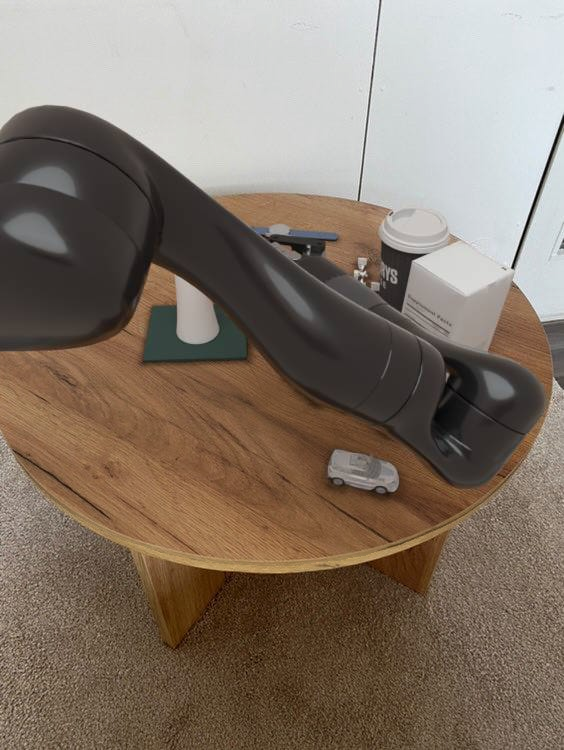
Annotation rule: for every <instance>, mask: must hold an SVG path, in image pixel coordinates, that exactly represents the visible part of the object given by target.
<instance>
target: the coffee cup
mask: <svg viewBox="0 0 564 750" xmlns="http://www.w3.org/2000/svg"><path fill="white" fill-rule="evenodd" d="M377 233H378V236H379V238H380V241H381V243H380V264H379V265H380V267H379V269H380V270H379V283H380V287H379V291H378V295H379V296H380V297H381V298H382V299H383V300H384V301H385V302H387V303H388V304H389V305H390V306H392V307H393V308H395V309H396V310H398V311H399V312H401V313H402V308H403V303H404V298H405V293H406V289H407V284H408V279H409V274H410V269H411V264H412V261H413V260H416V259H418V258H420V257H423V256H425V255H427V254H430V253H432V252H434V251H437V250H439V249H441V248H444V247H446V246H448V245H450V242H451V231H450V227H449V225H448V221H447V218H446V217H445V216H444V215H443V214H442V213H441V212H440V211H437V210H435V209H432V208H430V207H426V206H420V205H403V206H398V207H395V208H393V209H392V210H390V211H389V212H388V213H387V215H386V217H385V218H384V219H383V220H382V222H381V223H380V225H379V228H378V230H377Z"/></svg>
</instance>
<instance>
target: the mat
mask: <svg viewBox="0 0 564 750" xmlns="http://www.w3.org/2000/svg"><path fill="white" fill-rule="evenodd" d="M213 308H214V312H215V316H216V319H217V322H218V325H219V333H218V335H217V336H216V337H215V338H214V339H213V340H211V341H209V342H207V343H203V344H189V343H186V342H183V341H182V340H181V339H180V338H179V337H178V336H177V332H176V330H177V304H165V305H152V308H151V314H150V320H149V325H148V331H147V335H146V341H145V346H144V352H143V356H142V363H170V362H171V363H175V362H176V363H178V362H208V361H210V362H211V361H213V362H215V361H246V360H247V359H248V358H247V356H248V352H247V351H248V347H247V346H248V343H247V341H248V339H247V338H246V337H245V336H244V335H243V333H242V332H241V331H240V330H239V329H238V328H237V327H236V326H235V324H234V323H233V322H232V321H231V320H230V319H229V318H228V317H227V316H226V315H225V314H224V313H223V312H222V311H221V310H220V309H219V308H218V307H217V306H216V305H215V304H214V303H213Z"/></svg>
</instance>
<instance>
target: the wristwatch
mask: <svg viewBox="0 0 564 750" xmlns="http://www.w3.org/2000/svg"><path fill="white" fill-rule="evenodd" d="M248 226H249V227H251V228H252V229H253V230H254V231H256V232H257V233H258V234H259V235H261V236H265V237H267V238H270V236H271V235H272V234H280V235H287V236H295V237H302V238H310V239H317V240H331V241H336V240H338V238H339V234H338V233H337V232H328V231H316V230H304V229H294V228H293V227H291V226H289V225H287V224H284V223H275V224H273V225H269V226H267V227H262V226H254V225H248Z"/></svg>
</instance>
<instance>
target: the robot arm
mask: <svg viewBox="0 0 564 750" xmlns="http://www.w3.org/2000/svg"><path fill="white" fill-rule="evenodd" d="M249 226H250V225H249V224H247V223H246V222H245V221H243V220H242V219H240V217H238V216H237V215H236V214H234V213H233V212H231V211H230V210H229V209H228V208H227V207H225V206H224V205H223V204H221V203H220V202H219V201H218V200H216V199H215V198H213V197H212V196H211V195H209V194H208V193H207V192H206V191H204V190H203V189H202V188H201V187H200V186H198V185H197V184H196V183H194V182H193V181H192V180H190V178H188V177H187V176H186V175H185V174H183V173H182V172H181V171H180V170H178V168H176V167H174V166H173V165H172V164H171V163H169V161H167V160H165V159H164V158H163V157H162V156H160V155H159V154H158V153H157V152H155V151H154V150H152V149H151V148H149V147H148V146H147V145H146V144H144V143H143V142H141V141H140V140H138V139H137V138H136V137H134V136H132V135H131V134H129V133H128V132H126V131H125V130H123V129H122V128H120V127H118V126H117V125H115V124H113V123H112V122H110V121H108V120H106V119H104V118H102V117H100V116H99V115H96V114H94V113H91V112H88V111H85V110H82V109H79V108H75V107H72V106H68V105H59V104H58V105H56V104H41V105H36V106H31V107H28V108H26V109H23V110H22V111H19V112H17V113H15V114H14V115H13V116H11V118H10V119H8V120H7V121H6V123H4V124H3V125H2V127H1V128H0V352H1V353H3V352H4V353H5V352H47V351H48V352H49V351H63V350H73V349H80V348H85V347H90V346H92V345H96V344H100V343H102V342H105V341H106V342H107V341H108V340H110V339H112V338H114V337H115V336H118V335H119V334H120V333H121V332H122V331H123V330H124V329H126V327H127V326H128V325H129V324H130V322H131V321H132V319H133V317H134V316H135V314H136V312H137V310H138V308H139V305H140V303H141V300H142V296H143V293H144V289H145V287H146V284H147V280H148V276H149V273H150V269H151V266H152V264H153V265H155V266H157V267H160V268H162V269H164V270H166V271H167V272H169V273H171V274H174V276H175V275H177V276H178V277H180V278H182V279H183V280H185V281H186V282H188V283H189V284H191V285H192V286H194V287H195V288H196V289H198V290H199V291H200V292H201V293H203V294H204V295H205V296H206V297H207V298H209V299H210V300H211V301H212V303H213V304H215V305H216V306H217V307H218V308H219V309H220V310H221V311H222V312H223V313H224V314H225V315H226V316H227V317H228V318H229V319H230V320H231V321H232V322H233V323H234V324H235V326H236V327H237V328H238V329H239V330H240V331H241V332H242V333H243V335H244V336H245V337H246V338H247V341H248V342H249V343H250V344H251V346H253V348H254V349H255V350H256V351H257V352H258V354H259V355H260V356H261V357H262V358H263V359H264V360H265V362H266V363H267V365H269V366H270V368H272V370H274V371H275V373H276V374H277V375H278V376H279V377H280V378H281V379H283V380H284V381H285V382H286V383H287V385H289V386H290V387H292V388H293V389H294V390H296V391H297V392H298V393H299V394H300V395H303V396H304V397H305V398H307V399H308V400H310V401H312V402H313V401H314V402H316V403H318V404H317V405H320V406H321V407H323V408H326V409H329V410H330V411H333V412H335V413H337V414H340V415H343V416H344V417H347V418H350V419H352V420H354V421H357V422H359V423H361V424H364V425H366V426H367V427H368V426H369V427H371V428H373V429H375V430H377V431H379V432H380V433H382V434H383V435H386V436H387V437H388V438H390V439H391V440H393V441H394V442H396V443H397V444H398V445H400V446H401V447H402V448H404V449H405V450H406V451H407V452H408V453H410V454H411V456H413V457H414V458H415V459H416V460H417V461H418V462H419V463H420V464H421V465H422V466H423V467H424V468H425V469H426V471H428V472H429V473H430V474H431V475H433V476H434V477H435V478H436V479H438V480H439V481H440V482H442V483H443V484H445V485H447V486H449V487H451V488H454V489H458V490H473V489H474V490H475V489H480V488H482V487H484V486H486V485H488V484H489V483H491V482H492V481H493V480H494V479H495V478H496V477H497V475H498V474H499V473H500V472H501V470H502V469H503V468H504V466H505V465H506V463H507V462H508V461H509V460H510V459H511V457H512V456H513V454H514V453H515V452H516V450H517V449H518V448H519V446H520V445H521V444H522V443H523V441H524V440H525V438H526V437H527V436H528V435H529V434H530V433H531V431H532V430H533V429H534V427H535V426H536V425H537V424H538V422H539V421H540V419H541V418H542V417H543V415H544V413H545V411H546V410H547V407H548V399H547V397H548V396H547V393H546V390H545V387H544V385H543V383H542V382H541V380H540V379H539V377H538V376H537V375H536V374H535V373H534V372H533V371H532V370H531V369H529V368H528V367H527V366H525V365H524V364H522V363H521V362H519V361H517V360H515V359H511V358H508V357H506V356H503V355H500V354H496V353H493V352H489V351H488V352H486V351H482V350H479V349H475V348H471V347H468V346H465V345H462V344H459V343H456V342H453V341H450V340H448V339H445V338H443V337H441V336H438V335H436V334H434V333H433V332H431V331H429V330H427V329H425V328H423V327H422V326H420V325H419V324H417V323H415V322H414V321H412V320H411V319H409V318H408V317H406V316H405V315H403V314H402V313H401V312H399V311H398V310H396V309H395V308H393V307H392V306H390V305H389V304H388V303H387V302H385V301H384V300H383V299H382V298H381V297H380V296H379V293H377V291H374V290H372V289H371V287H369V286H368V285H367V284H366V285H365V284H364V282H363V283H362V282H360V281H361V280H359V279H358V280H357V279H356V278H354V275H351V274H350V273H348V272H347V271H346V270H343V269H342V268H341V267H339V266H338V265H336V264H335V263H333V262H332V261H331V260H330V259H328V258H326V249H327V248H326V246H327V242H326V241H325V240H324V239H314V238H302V237H295V236H287V235H280V234H272V235H271V236H270V237H269V238H267V239H266V238H264V237H263V235H259V234H258V233H257V232H256V231H254V230H253V229H252V228H251V227H249ZM285 246H286V247H285ZM287 246H288V247H290V248H291V250H290V249H288V248H287ZM446 373H448V374H449V376H448V378H447V381H446ZM314 402H313V403H314ZM316 403H315V404H316Z"/></svg>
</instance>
